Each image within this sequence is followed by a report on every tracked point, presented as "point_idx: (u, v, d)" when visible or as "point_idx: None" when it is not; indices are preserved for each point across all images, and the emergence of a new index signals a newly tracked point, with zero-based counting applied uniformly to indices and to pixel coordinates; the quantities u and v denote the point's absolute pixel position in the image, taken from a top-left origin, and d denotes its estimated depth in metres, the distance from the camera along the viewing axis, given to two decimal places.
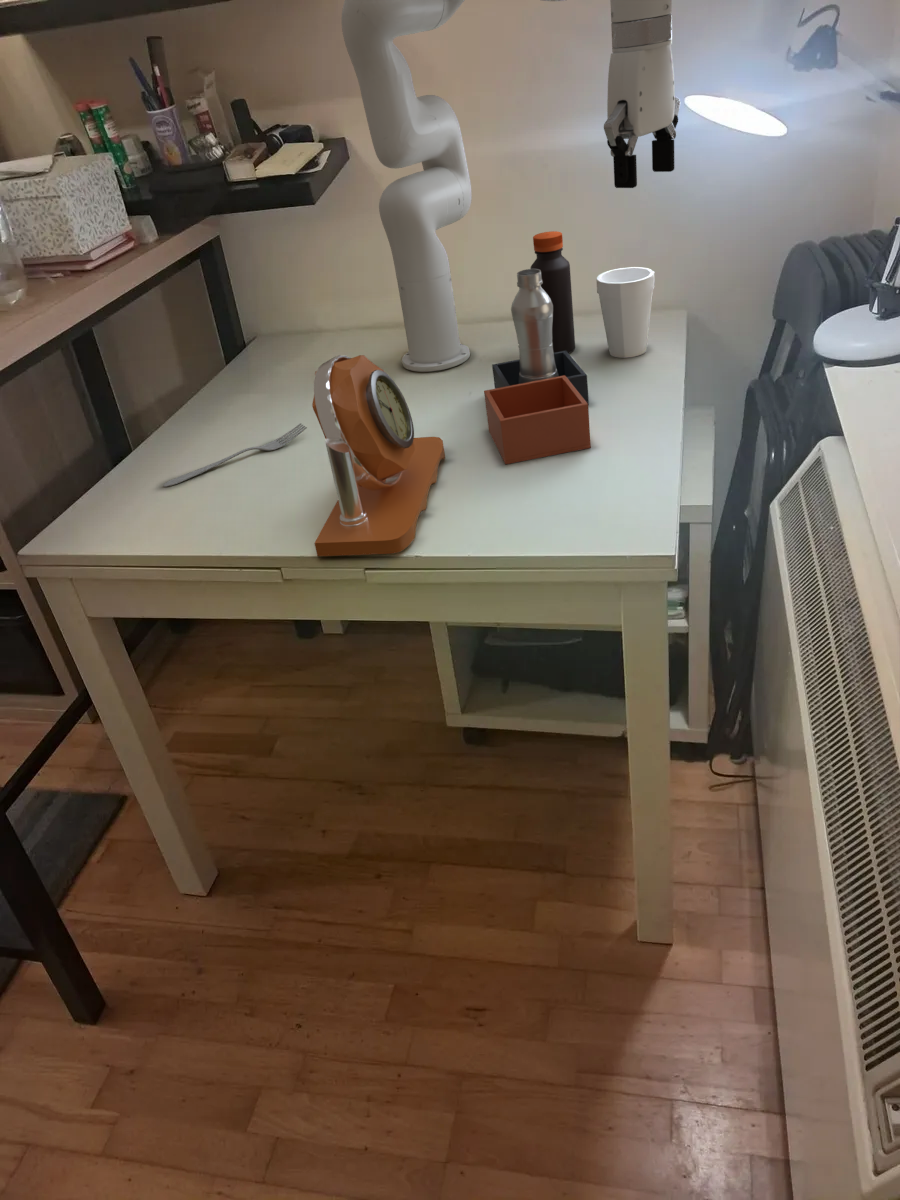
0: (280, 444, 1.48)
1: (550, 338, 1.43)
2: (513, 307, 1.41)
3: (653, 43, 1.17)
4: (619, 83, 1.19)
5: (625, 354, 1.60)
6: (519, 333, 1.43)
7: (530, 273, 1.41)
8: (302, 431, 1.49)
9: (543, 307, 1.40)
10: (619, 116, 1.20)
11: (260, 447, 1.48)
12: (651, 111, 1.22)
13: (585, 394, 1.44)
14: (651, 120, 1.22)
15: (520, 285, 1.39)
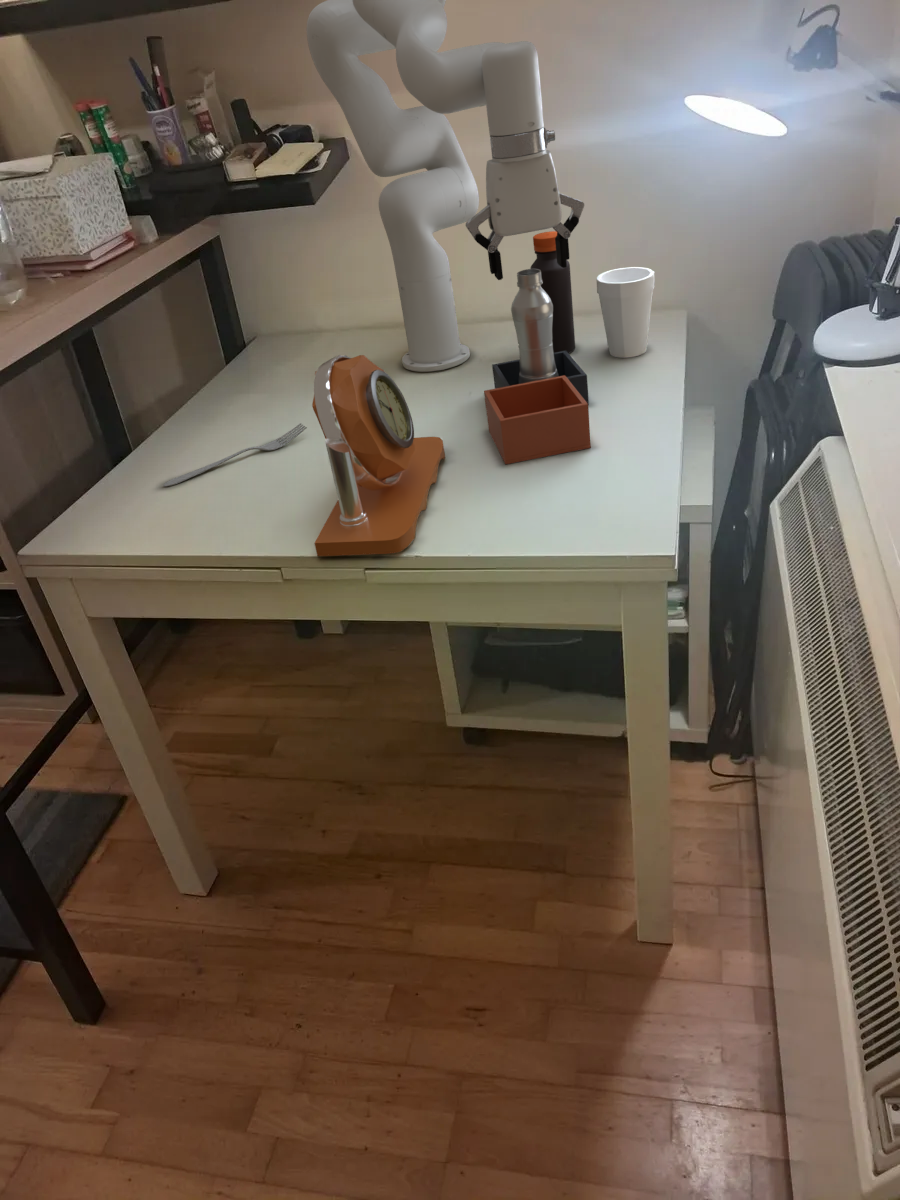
0: (280, 444, 1.48)
1: (550, 338, 1.43)
2: (513, 307, 1.41)
3: (508, 158, 1.28)
4: (487, 188, 1.32)
5: (625, 354, 1.60)
6: (519, 333, 1.43)
7: (530, 273, 1.41)
8: (302, 431, 1.49)
9: (543, 307, 1.40)
10: (479, 217, 1.33)
11: (260, 447, 1.48)
12: (514, 216, 1.32)
13: (585, 394, 1.44)
14: (517, 223, 1.33)
15: (520, 285, 1.39)
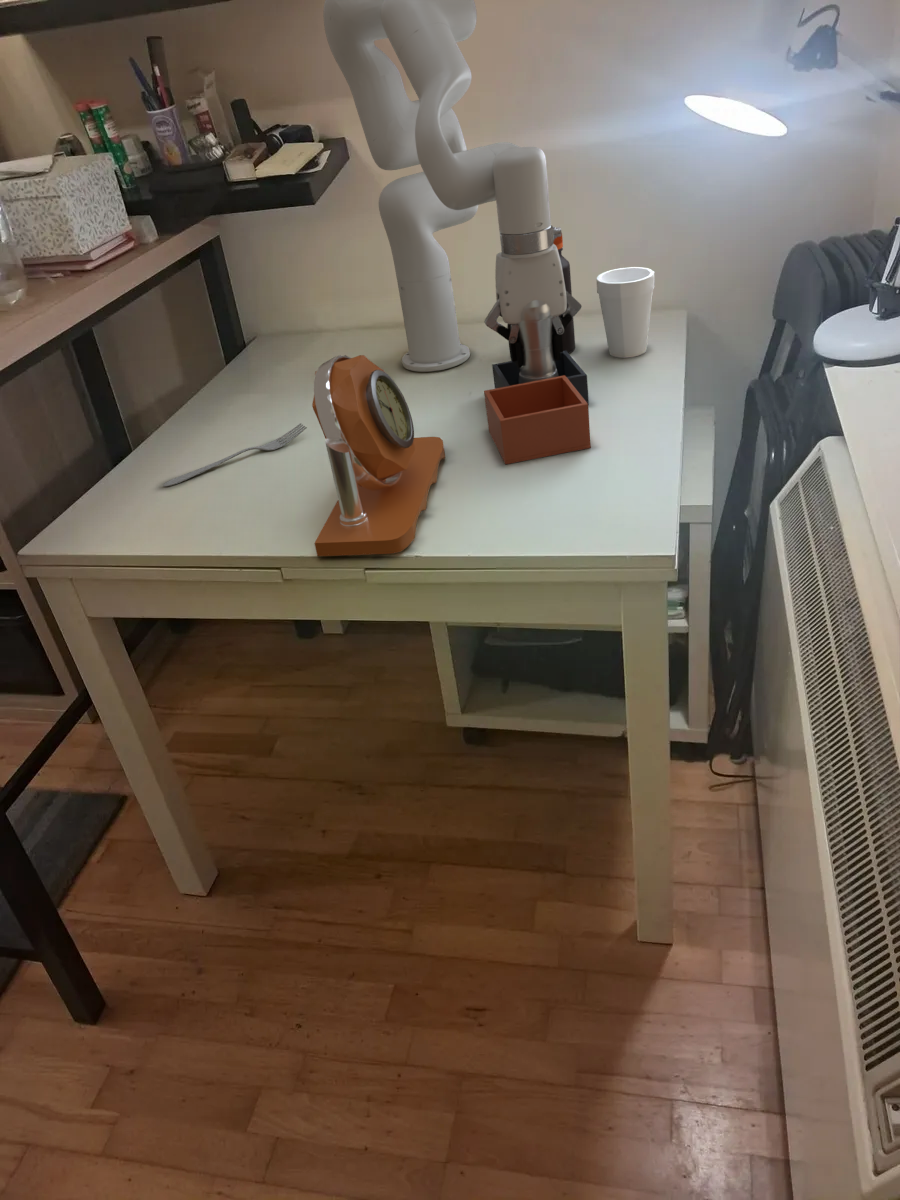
0: (280, 444, 1.48)
1: (550, 338, 1.43)
2: None
3: (517, 254, 1.35)
4: (496, 279, 1.40)
5: (625, 354, 1.60)
6: (519, 333, 1.43)
7: None
8: (302, 431, 1.49)
9: (543, 307, 1.40)
10: (494, 313, 1.41)
11: (260, 447, 1.48)
12: (522, 306, 1.40)
13: (585, 394, 1.44)
14: None
15: None
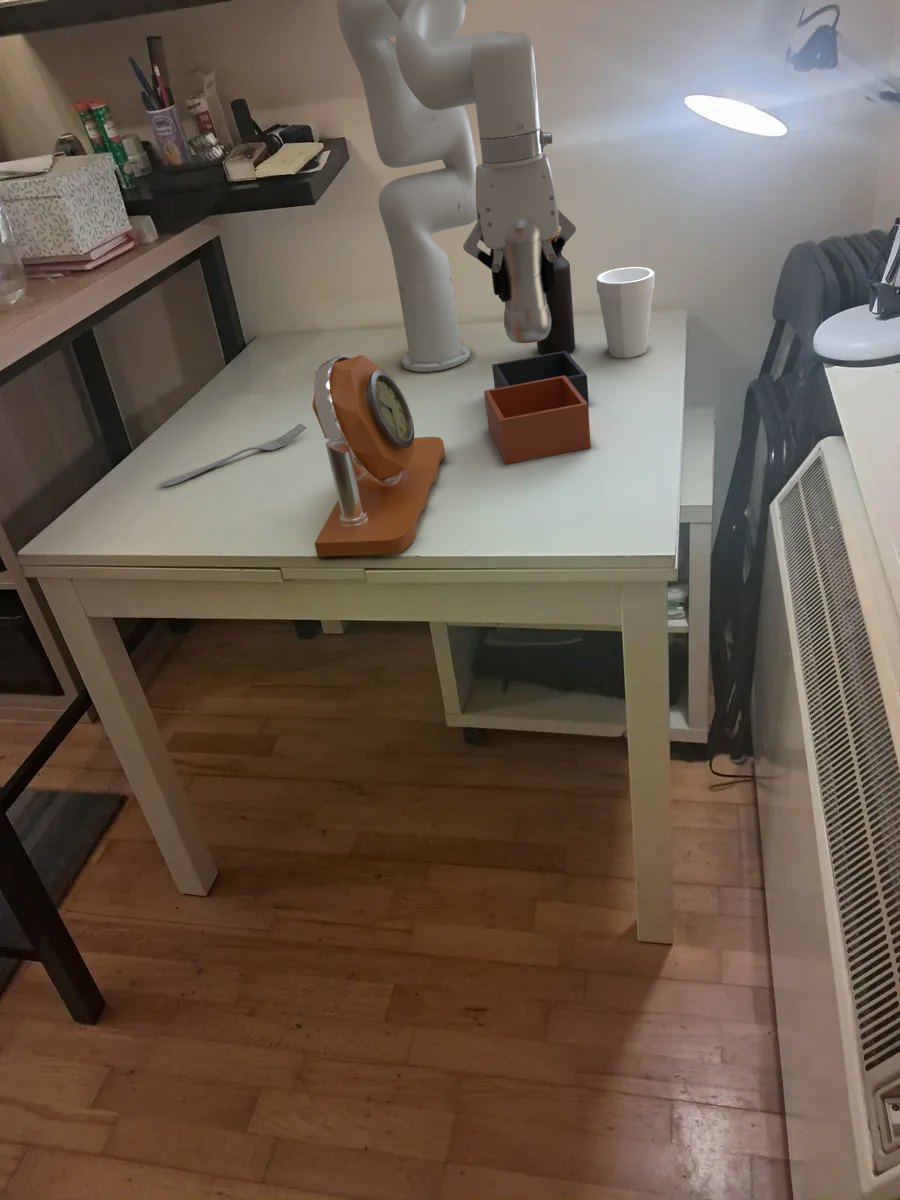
0: (280, 444, 1.48)
1: (539, 266, 1.23)
2: None
3: (500, 163, 1.15)
4: (476, 195, 1.20)
5: (625, 354, 1.60)
6: (503, 260, 1.23)
7: None
8: (302, 431, 1.49)
9: (531, 228, 1.20)
10: (474, 236, 1.21)
11: (260, 447, 1.48)
12: (507, 227, 1.20)
13: (585, 394, 1.44)
14: None
15: None
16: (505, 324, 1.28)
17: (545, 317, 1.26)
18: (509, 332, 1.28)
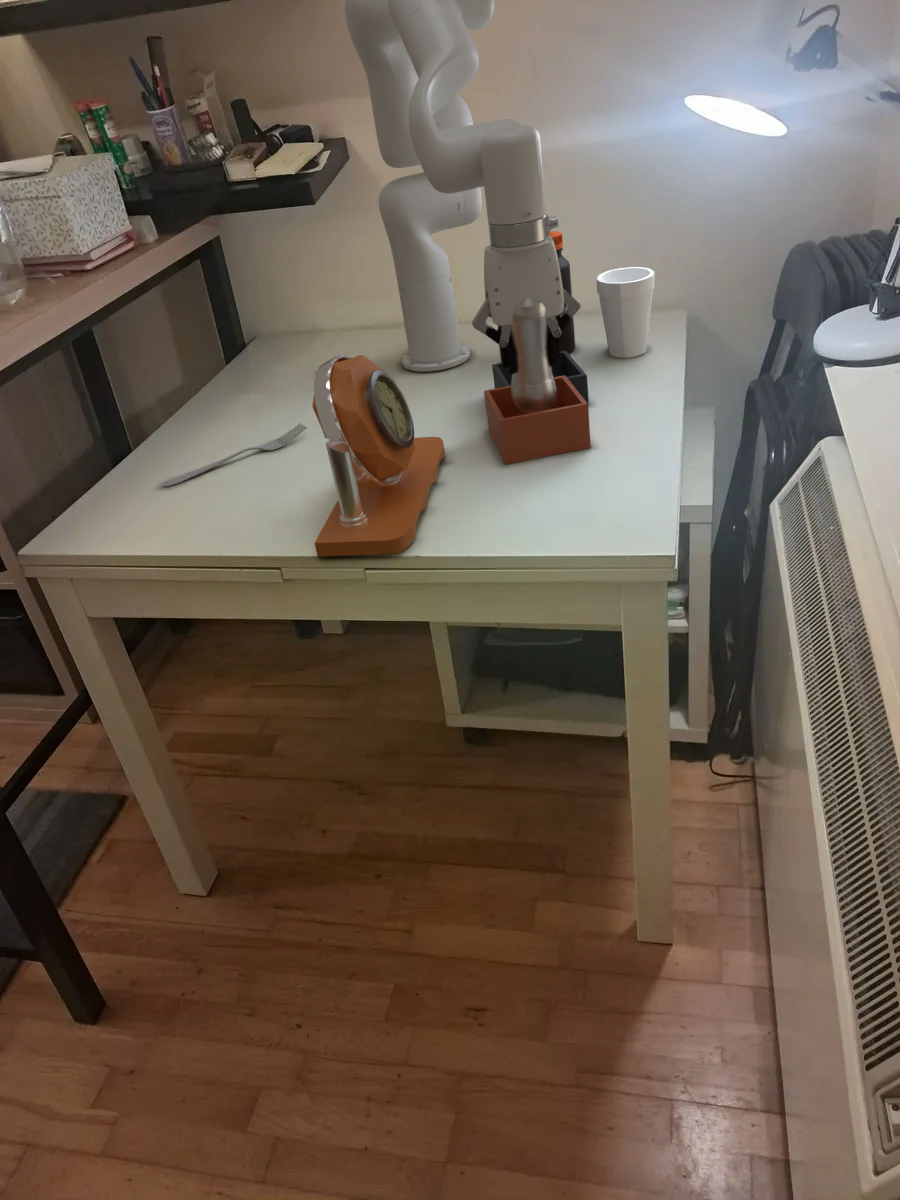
0: (280, 444, 1.48)
1: (545, 341, 1.28)
2: None
3: (508, 247, 1.20)
4: (485, 275, 1.24)
5: (625, 354, 1.60)
6: (511, 336, 1.28)
7: None
8: (302, 431, 1.49)
9: (538, 306, 1.24)
10: (483, 313, 1.26)
11: (260, 447, 1.48)
12: (514, 306, 1.24)
13: (585, 394, 1.44)
14: None
15: None
16: (512, 395, 1.33)
17: (551, 389, 1.31)
18: (516, 402, 1.32)
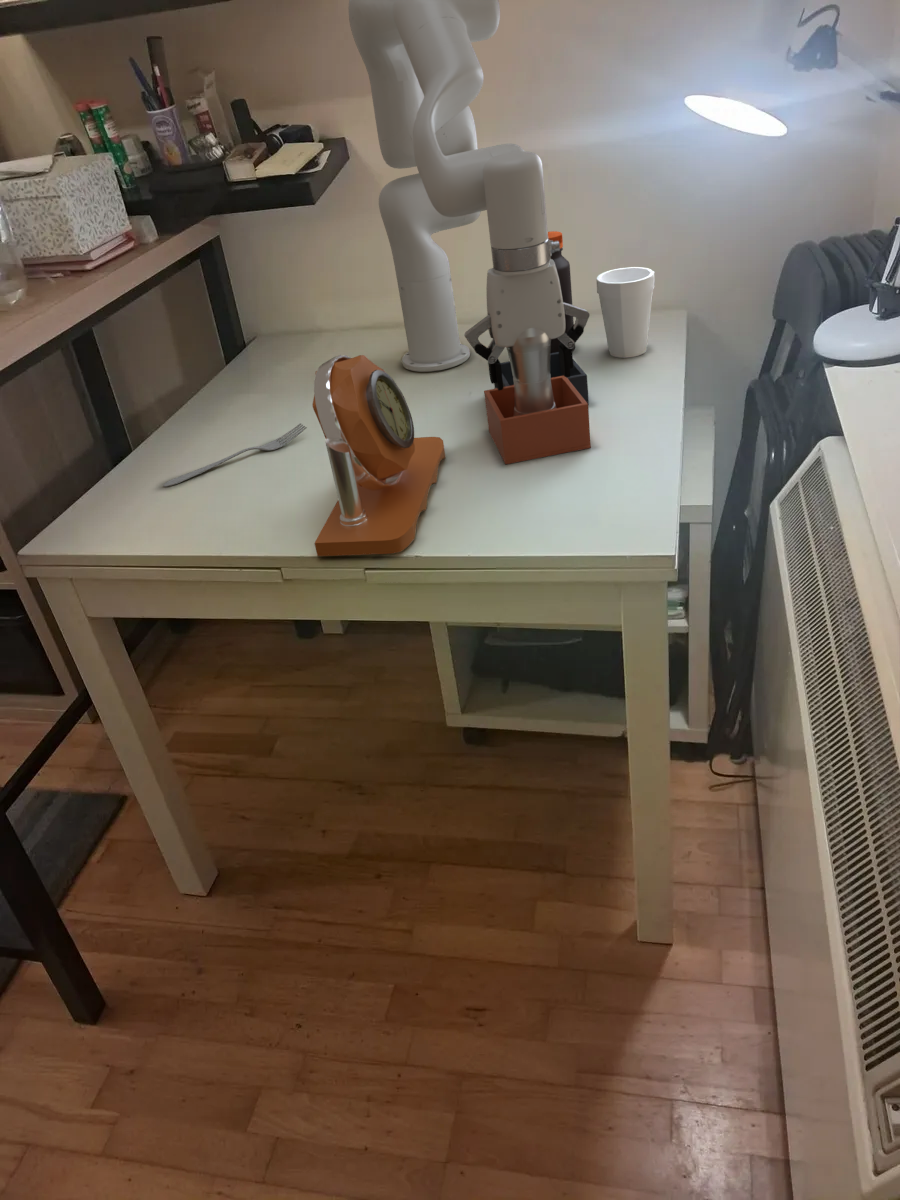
0: (280, 444, 1.48)
1: (548, 370, 1.30)
2: None
3: (510, 271, 1.21)
4: (487, 298, 1.26)
5: (625, 354, 1.60)
6: (514, 365, 1.30)
7: None
8: (302, 431, 1.49)
9: (540, 337, 1.27)
10: (479, 328, 1.27)
11: (260, 447, 1.48)
12: (516, 328, 1.26)
13: (585, 394, 1.44)
14: None
15: None
16: None
17: None
18: None
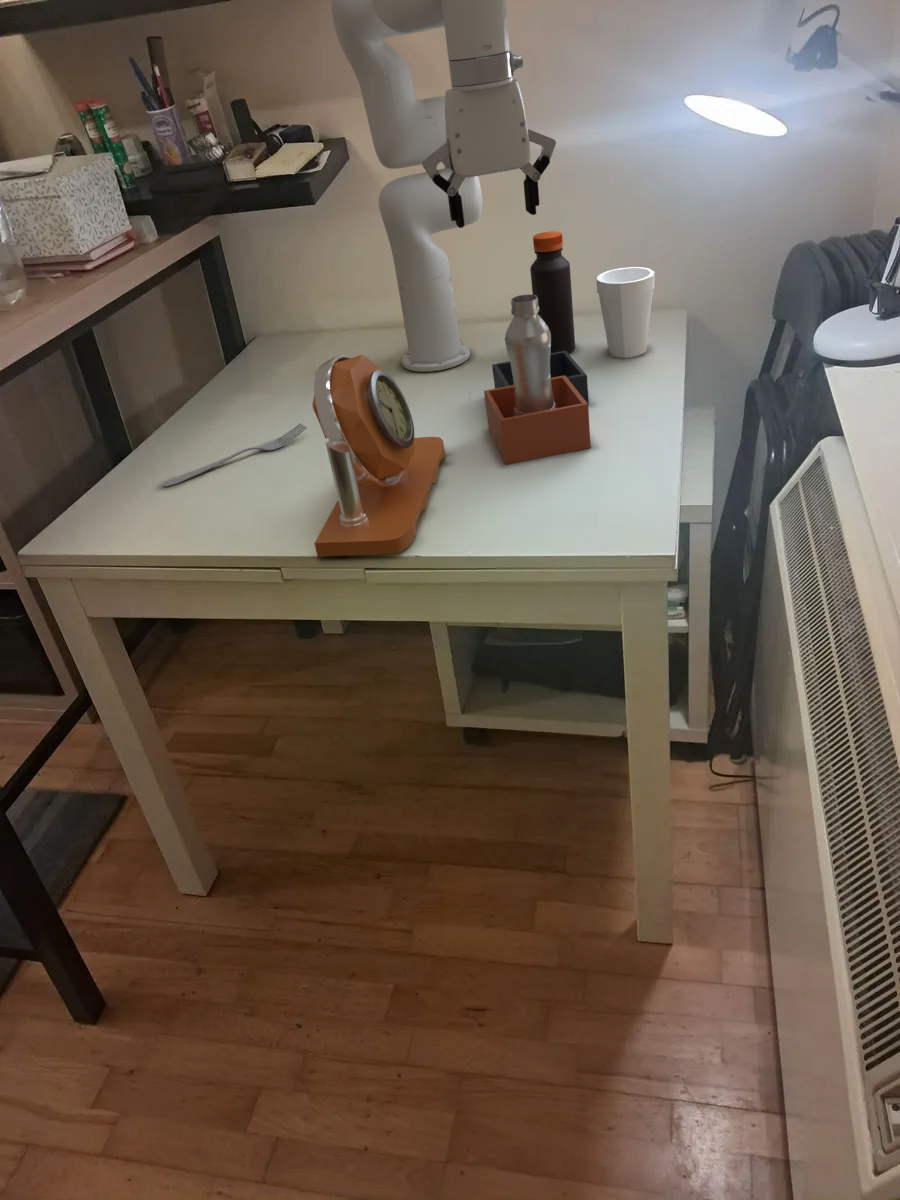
0: (280, 444, 1.48)
1: (548, 370, 1.30)
2: (507, 337, 1.28)
3: (469, 85, 1.13)
4: (446, 121, 1.17)
5: (625, 354, 1.60)
6: (514, 365, 1.30)
7: (525, 299, 1.28)
8: (302, 431, 1.49)
9: (540, 337, 1.27)
10: (437, 155, 1.18)
11: (260, 447, 1.48)
12: (477, 154, 1.17)
13: (585, 394, 1.44)
14: (480, 163, 1.18)
15: (515, 313, 1.26)
16: None
17: None
18: None
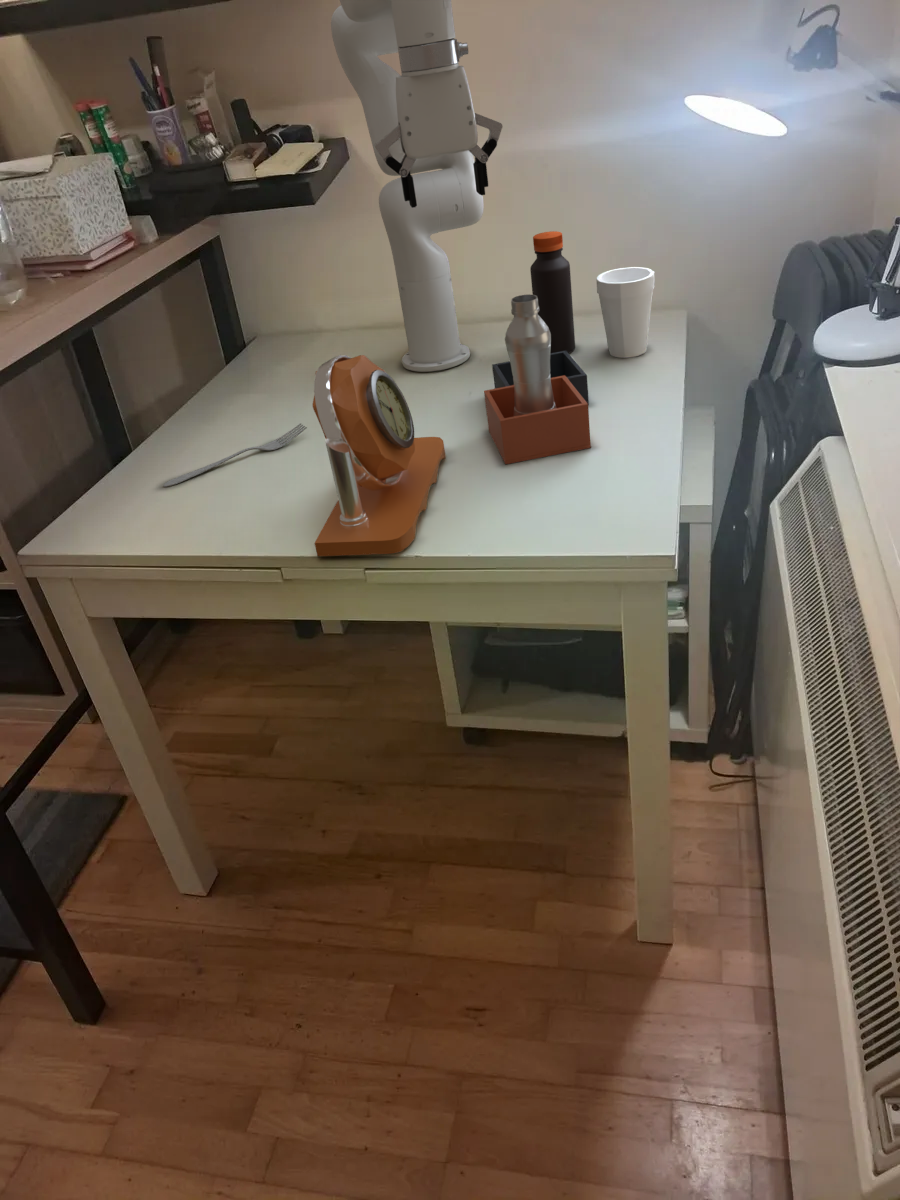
0: (280, 444, 1.48)
1: (548, 370, 1.30)
2: (507, 337, 1.28)
3: (417, 71, 1.19)
4: (397, 106, 1.24)
5: (625, 354, 1.60)
6: (514, 365, 1.30)
7: (525, 299, 1.28)
8: (302, 431, 1.49)
9: (540, 337, 1.27)
10: (389, 138, 1.25)
11: (260, 447, 1.48)
12: (426, 136, 1.24)
13: (585, 394, 1.44)
14: (430, 145, 1.24)
15: (515, 313, 1.26)
16: None
17: None
18: None
